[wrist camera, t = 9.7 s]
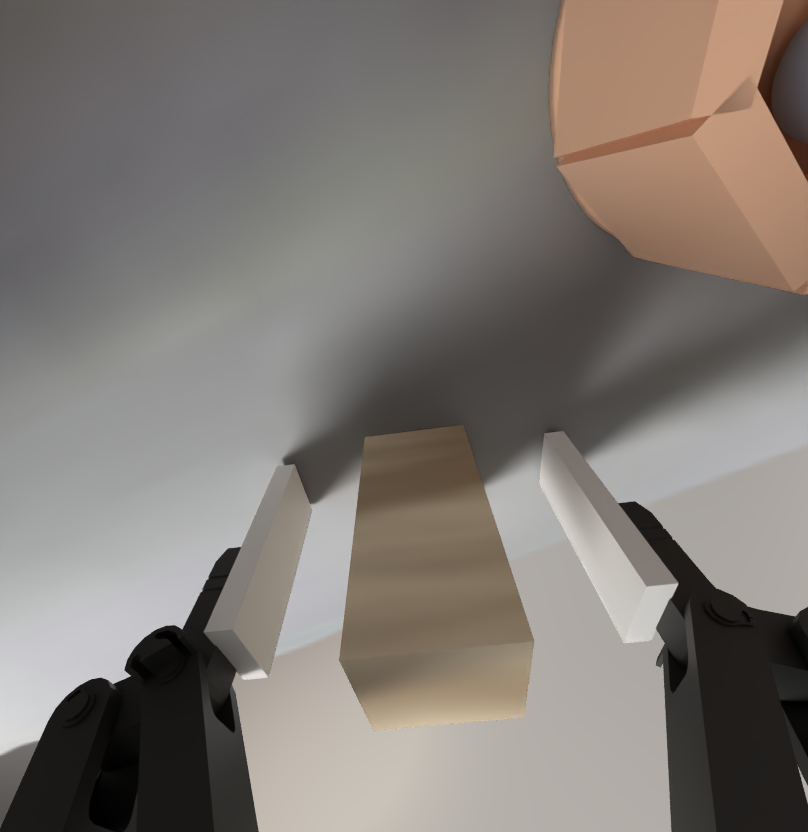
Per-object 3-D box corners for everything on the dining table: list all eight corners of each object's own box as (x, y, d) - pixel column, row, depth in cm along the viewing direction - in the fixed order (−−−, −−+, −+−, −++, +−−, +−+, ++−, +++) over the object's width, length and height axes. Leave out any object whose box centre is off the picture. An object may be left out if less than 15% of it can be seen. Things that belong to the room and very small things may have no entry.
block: (364, 437, 14) (339, 660, 7) (463, 424, 14) (534, 641, 7) (381, 506, 16) (373, 730, 9) (466, 496, 16) (523, 717, 9)
